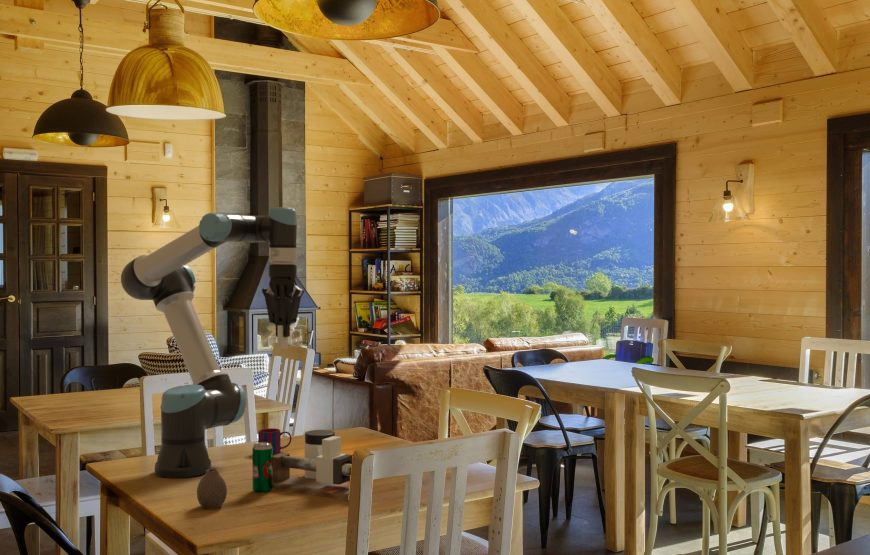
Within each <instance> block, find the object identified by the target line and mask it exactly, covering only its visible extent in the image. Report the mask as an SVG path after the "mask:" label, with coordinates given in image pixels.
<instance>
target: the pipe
mask: <svg viewBox="0 0 870 555" xmlns="http://www.w3.org/2000/svg"><path fill="white" fill-rule="evenodd" d="M280 464H281V466H282V467H285V468H290V469H292V470H293V469H294V470H301V471H305V470H307V471H315V472H316V460H315V459H308V458H305V457H300V456H299V457H298V456H291V455H290V456H283V457H282V458H281V461H280ZM350 467H351V464H347V463H342V476H343V475H344V476H350Z"/></svg>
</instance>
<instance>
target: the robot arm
mask: <svg viewBox="0 0 870 555" xmlns="http://www.w3.org/2000/svg"><path fill="white" fill-rule="evenodd" d="M297 219H298V218H297V211H296V209H295V208H293V207H285V206H284V207H283V206H282V207H280V206H278V207H275V206H274V207H271V208H269V211H268V215H250V214H249V215H248V214H238V213H237V214H235V213H224V212H219V211H218V212H208V213H205V214H204V215H203V216H202V217H201V220H200V221H199V224H198V226H195V227H194V228H193V229H190V230H189V231H187V232H185V233H183V234H182V235H180V236H179V237H177V238H175V239H174V240H172V241H170V242H168V243H167V244H164V245H162V246H161V247H159V248H158V249H157V250H155V251H153V252H150V253H149V254H148V255H146V254H142V255H139V256H137V257H136V258H133V259H132V260H131V261H130V262H127V263H126V265H125V266H124V267H123V270H122V271H121V274H120V283H121V286H122V289H123V290H124V292H125V293H126V294H127V295H128V296H130V297H131V298H132V299H135V300H140V301H153V304H154V307H155V308H156V310H157V311H158V312H161V313H163V314H164V317H165V319H166V321H167V324H168V326H169V328H170V330H171V334H172V336H173V338H174V341H175V344H176V345H177V347H178V350H179V352H180V355H181V357H182V359H183V363H184V365H185V366H186V369H187V372H188V375H189V376H190V379H191V381H192V382H191V383H192V384H185V385H177V386H173V387H170V388H169V389H166V390H165V391H164V392H162V395H161V403H160V422H161V424H160V425H161V426H160V428H161V430H160V431H161V432H160V433H161V434H160V435H161V436H160V437H161V438H160V439H161V442H160V444H161V446H160V449H159V451H158V456H157V459H156V462H155V463H154V475H156V476H158V477H161V478H168V479H169V478H173V479H175V478H176V479H177V478H178V479H182V478H191V477H198V476H202V475H203V476H204V475H205V473H206V471H207V470H209V469H212V460H211V459H210V457H209V453H208V449H207V448H208V447H207V445H206V436H205V435H206V430H210V429H214V428H219V427H223V426H229V425H230V424H234V423H236V422H238V421H239V420H240V419H241V418H242V417H243V416H244V414H245V410H246V408H247V403H248V402H247V401H248V400H247V394H246V392H245V390H244V388H243V387H242V386H241V385H240V384H238V383H236V382H232V380H231V379H230V375H229V374H228V373H227V372H225V371H224V372H223V371H221V368H220V365H219V363H218V361H217V359H216V356H215V354H214V352H213V350H212V349H213V348H212V347H211V345H210V342H209V340H208V337H207V336H206V333H205V330H204V328H203V326H202V324H201V322H200V319H199V316H198V314H197V312H196V309H195V307H194V305H193V303H192V302H193V299H194V297H195V294H194V292H195V289H196V285H195V284H196V283H197V282H196V277H195V276H196V275H195V274H194V271H193V270H192V268H191V267H190V266H189V265H188V264H189V263H192V262H193V261H194V260H197V259H198V258H200V257H201V256H203V255H205V254H207V253H209V252H210V251H212V250H214V249H215V248H217V247H220V246H222V245H223V244H225V243H230V242H236V243H244V244H245V243H246V244H248V243H249V244H254V243H268V248H269V249H268V251H269V252H268V254H269V255H268V262H270V263H271V264H269V266H268V277H269V283H268V285H267V286H266V287H265V288H262V289H261V292H262V294H263V297H264V299H265V304H266V305H265V306H266V310H267V317H268V320H269V321H268V322H269V323H271V324H274V325H275V326H274V327H275V337H276V338H277V350H288V349H289V337H290V336H291V325H293V324H295V323H297V319H298V314H299V309H300V305H301V301H302V300H301V299H302V296H303V295H304V293H305V290H304V289H303V288H300V287H299V286H297V284H298V283H297V281H296V279H297V276H298V275H297V272H298V271H297V264H295V263H297V262H298V261H297V260H298V259H297V258H298V254H297V253H298V252H297V250H298V249H297V235H298V234H297V231H298V228H297V227H298V222H297Z"/></svg>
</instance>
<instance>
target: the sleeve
mask: <svg viewBox="0 0 870 555" xmlns="http://www.w3.org/2000/svg"><path fill="white" fill-rule="evenodd" d="M346 454H347V453H342V437H341V436H336V435H335V436H332V437H329V438H326V439H322V455H321V456H318V457H316V481H317V482H324V483H331V484H333V459H335V458H337V457H340V456H343V455H346ZM343 463H344V462H343ZM343 476H344V475H343Z"/></svg>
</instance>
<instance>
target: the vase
mask: <svg viewBox="0 0 870 555" xmlns="http://www.w3.org/2000/svg"><path fill="white" fill-rule="evenodd" d="M227 489H228V488H227V484H226V481H225V479H224V478H223V476H221V474H220V473H219V471H218V470H217V469H216V468H211V469H209V470H207V471H206V473H205V474H203V476H202V478H201V479H200V481H199V482H198V485H197V488H196V499H197V501H198V504H199V506H201V507H202V508H203V509H206V510H213V509H214V510H215V509H219V508H221V507H222V505H224V503H225V501H226V500H227V494H228V490H227Z"/></svg>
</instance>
